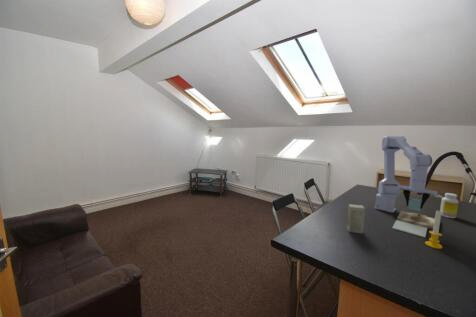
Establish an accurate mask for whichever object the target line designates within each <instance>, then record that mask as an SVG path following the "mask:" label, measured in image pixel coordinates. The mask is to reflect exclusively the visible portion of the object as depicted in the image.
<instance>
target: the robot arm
mask: <svg viewBox="0 0 476 317" xmlns="http://www.w3.org/2000/svg"><path fill="white" fill-rule="evenodd" d="M381 150H382V151H383V156H384V157H383V158H384V160H383V161H384V162H383V167H384V168H383V177H384V178H383V179H381V180H380V181H378V186H377V191H378V193H376V195H375V202H374V204H375V205H374V209H375V210H379V211H384V212H388V213H392V214H394V213H395V211H396V210H397V209H396V208H395V204H396V197H398V196H400V194H401V191H403V192H402V193H403V197H404V199H405V203H406V207H408V203H409V199H410V198H411V196H410V195H411V192H412V193H418V194H422V195H421V197H422V198H421V200H422V202H421V207H420V210H423V207H424V205H425V203H426V202H427V201H428V199H429V198H430V196H434V197H438V192H439V191H438V190H433V189H427V188H426V186H427V185H426V183H427V177H428V170H429V167H431V166H432V164H433V157H432V156H431V155H430V154H425V153H423V152H422V151H421V150H420V149H418V147H416V146H412V145H411V144H410V145H409V143H408V141H407V138H406V137H405V136H393V135H392V136H389V135H385V136H384V137H383V139H382V140H381ZM399 151H403V155H404V156H405V157H406V158H407V159H408V161H409V166H410V167H409V168H410V170H411V171H410V179H409V186H408V185H406V186H405V185H401V184H400V182H399V181H398V180H396V179H395V178H396V177H395V176H396V175H395V174H396V171H395V167H396V166H395V163H396V162H395V161H396V160H395V158H396V157H395V156H396V152H399Z"/></svg>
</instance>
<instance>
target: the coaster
mask: <svg viewBox="0 0 476 317" xmlns="http://www.w3.org/2000/svg"><path fill="white" fill-rule="evenodd" d="M391 229H392V230H395V231H399V232H403V233H406V234H410V235H414V236H417V237H421V238H424V239H425V238H426V237H427V231H428V228H426V227H422V226H418V225H414V224H410V223H407V222H403V221H399V220H397V219H396V220H395V221H394V224H393V226H392V228H391Z"/></svg>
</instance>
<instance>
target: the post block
mask: <svg viewBox="0 0 476 317" xmlns="http://www.w3.org/2000/svg"><path fill="white" fill-rule="evenodd" d="M417 212H418V213H416V212H408V211H404V210H401V211H400V213H399V214H398V216H397V218H396V220H398V221H402V222H406V223H410V224H414V225H418V226H422V227H425V228H427V229H431V230H433V227H434V221H435V217H434V218H433V217H429V216H427V215H425V214H421V212H420V211H417Z"/></svg>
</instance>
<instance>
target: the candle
mask: <svg viewBox="0 0 476 317" xmlns="http://www.w3.org/2000/svg"><path fill="white" fill-rule="evenodd" d="M435 211H436V212H435V214H434V215H435V216H434V219H435V221H434V227H433V229H432V230H429V231H428V232H429V233H430V237H429V239H428V240H427V241H425V242H424V244H425V245H426V246H427V247H430V248H433V249H436V250H442V249H443V246H442V244H440V240H439V238H440V237H441V236H443V234H442V233H440V232H439V230H440V225H441V218H442V216H441V211H440V210H435Z"/></svg>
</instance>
